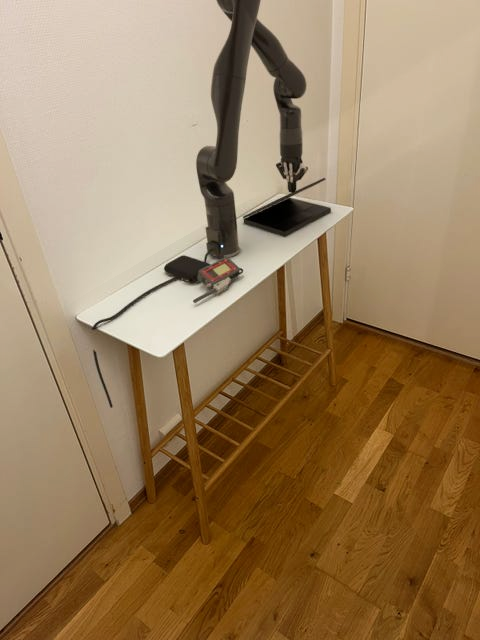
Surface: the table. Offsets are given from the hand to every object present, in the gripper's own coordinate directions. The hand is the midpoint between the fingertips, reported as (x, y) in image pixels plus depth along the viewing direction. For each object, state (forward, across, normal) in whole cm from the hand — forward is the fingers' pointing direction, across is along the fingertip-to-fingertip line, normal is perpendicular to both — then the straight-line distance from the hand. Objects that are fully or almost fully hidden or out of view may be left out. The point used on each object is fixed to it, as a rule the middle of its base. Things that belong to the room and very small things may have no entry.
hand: (292, 191), depth 159 cm
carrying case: (+10, 0, -50) cm, 51 cm away
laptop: (+10, -2, 0) cm, 11 cm away
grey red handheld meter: (+6, +14, -51) cm, 53 cm away
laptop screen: (+4, -4, 0) cm, 5 cm away
